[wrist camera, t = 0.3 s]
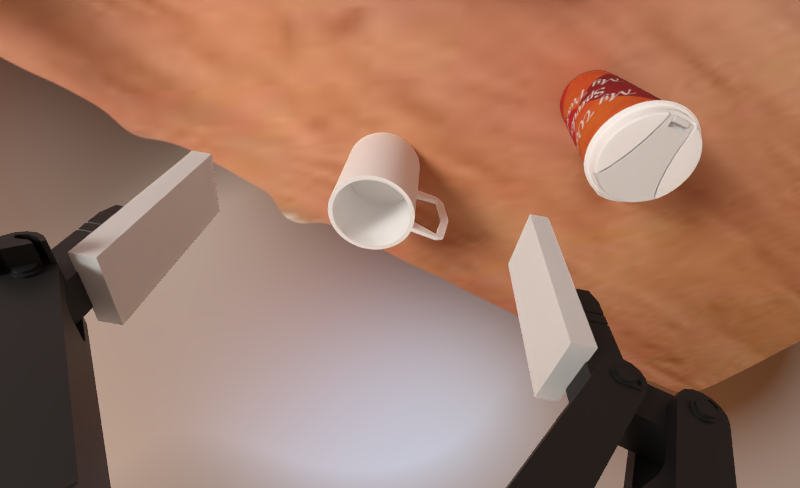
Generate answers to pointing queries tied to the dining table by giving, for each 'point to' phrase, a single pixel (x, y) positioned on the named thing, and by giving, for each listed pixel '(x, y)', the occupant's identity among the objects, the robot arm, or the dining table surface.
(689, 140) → the paper cup
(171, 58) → the dining table surface
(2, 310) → the robot arm
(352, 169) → the cup
